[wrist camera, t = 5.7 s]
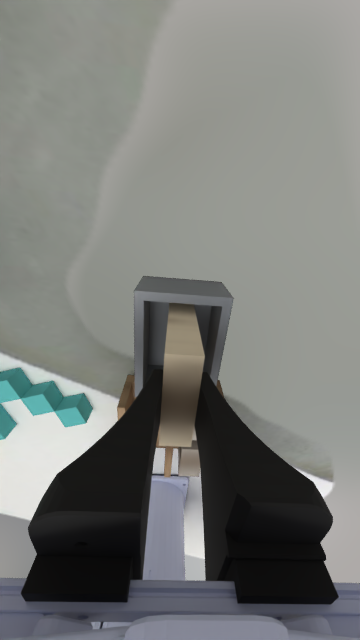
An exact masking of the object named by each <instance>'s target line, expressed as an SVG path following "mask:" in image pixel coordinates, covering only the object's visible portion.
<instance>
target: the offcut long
mask: <svg viewBox="0 0 360 640" xmlns="http://www.w3.org/2000/svg"><path fill="white" fill-rule="evenodd" d="M199 473H200V459H199V452H198V445H197V440H192V444H191V447H179V446H178V476H193V477H199Z"/></svg>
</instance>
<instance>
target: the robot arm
mask: <svg viewBox="0 0 360 640" xmlns="http://www.w3.org/2000/svg"><path fill="white" fill-rule="evenodd" d="M162 386H163V370H162V369H153V370H152V371H151V373H150V376H149V378H148V380H147V382H146V383H145V385H144V387H143V388H142V390H141V391H140V393H139V395H138V396H137V397H136V399H135V400H134V402H133V403H132V404H131V406H130V407H129V408H128V410H127V411H126V412H125V413H124V414H123V416H122V417H121V418H120V419H119V420H118V421H117V422H116V423H115V424H114V426H113V427H112V428H111V429H110V430H109V431H108V432H107V433H106V434H105V435H104V436H103V437H102V438H101V439H99V440H98V441H97V442H96V443H95V444H94V445H93V446H92V447H90V448H89V449H88V450H87V451H86V452H85V453H84V454H82V455H81V456H80V457H79V458H77V459H76V460H75V461H73V462H72V463H71V464H70V465H68V466H67V467H66V468H64V469H63V470H62V471H60V472H59V473H58V474H57V475H56V477H55V478H54V480H53V481H52V483H51V484H50V486H49V488H48V489H47V491H46V492H45V494H44V496H43V498H42V499H41V501H40V503H39V505H38V508H37V510H36V512H35V514H34V516H33V518H32V520H31V522H30V525H29V527H28V532H29V536H30V539H31V541H32V543H33V546H34V548H35V550H36V553H37V556H36V558H35V560H34V563H33V565H32V567H31V570H30V572H29V574H28V577H27V578H0V640H360V583H333V582H332V580H331V577H330V575H329V573H328V571H327V568H326V566H325V564H324V561H325V560H326V555H325V553H324V550H323V548H322V546H321V544H320V542H321V541H322V539H323V538H324V537H325V535H326V534H327V533H328V531H329V530H330V528H331V526H332V523H333V516H332V515H331V513H330V511H329V509H328V507H327V505H326V503H325V501H324V499H323V497H322V496H321V494H320V492H319V491H318V489H317V488H316V486H315V484H314V483H313V482H312V481H311V480H309V479H308V478H307V477H305V476H304V475H303V474H301V473H300V472H299V471H297V470H296V469H294V468H293V467H292V466H290V465H289V464H288V463H286V462H285V461H284V460H283V459H282V458H280V457H279V456H278V455H277V454H275V453H274V452H273V451H272V450H271V449H270V448H269V447H267V446H266V445H265V444H264V443H263V442H262V441H261V440H260V439H259V438H258V437H257V436H256V435H255V434H254V433H253V432H252V431H251V430H250V429H249V428H248V427H247V426H246V425H245V424H244V423H243V422H242V420H241V419H240V418H239V417H238V416H237V415H236V413H235V412H234V411H233V410H232V408H231V407H230V406H229V404H228V403H227V402H226V400H225V399H224V397H223V396H222V394H221V393H220V392H219V390H218V388H217V387H216V385H215V384H214V382H213V380H212V379H211V377H210V375H209V374H208V372H202V379H201V385H200V392H199V398H198V405H197V411H196V418H195V424H194V425H195V432H196V439H197V445H198V452H199V459H200V468H201V484H202V502H203V522H204V545H205V573H206V581H185V561H184V560H185V558H184V557H185V556H184V507H185V501H186V495H187V489H188V483H189V479H188V478H187V477H179V476H170V477H164V476H152V470H153V461H154V454H155V449H156V443H157V438H158V432H159V426H160V418H161V402H162Z"/></svg>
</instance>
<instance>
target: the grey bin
mask: <svg viewBox="0 0 360 640" xmlns="http://www.w3.org/2000/svg"><path fill="white" fill-rule="evenodd" d="M169 303H182V304H194V308H195V313H196V317H197V322H198V327H199V331H200V336H201V341H202V345H203V350H204V355H205V359H204V365H203V372H208V374H209V375H210V377H211V379H212V380H213V382H214V384H215V385H216V386H217V381H218V375H219V370H220V365H221V360H222V355H223V350H224V345H225V339H226V334H227V329H228V324H229V319H230V314H231V309H232V303H233V297H232V295H231V294H230V293H229V291H228V290H227V289H226V287H225V286H224V285H223V284H222V282H214V281H201V280H188V279H176V278H163V277H150V276H143V277H142V279H141V281H140V282H139V284H138V285H137V287H136V288H135V290H134V359H135V397H137V396H138V395H139V393H140V391H141V390H142V388H143V387H144V385H145V383H146V382H147V380H148V378H149V376H150V373H151V371H152V370H153V369H162V370H164V354H165V343H166V333H167V323H168V313H169Z"/></svg>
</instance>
